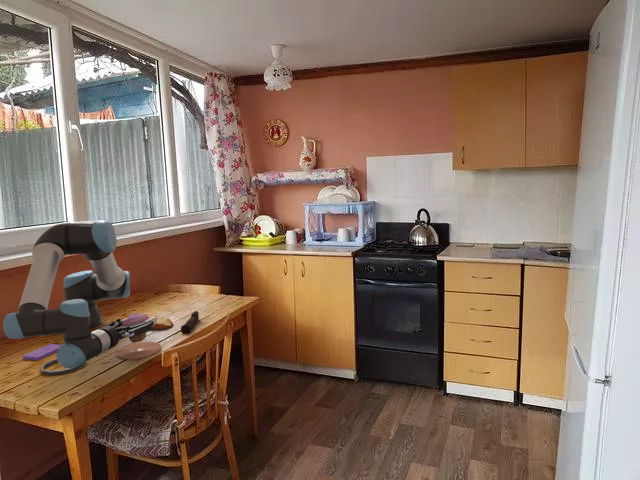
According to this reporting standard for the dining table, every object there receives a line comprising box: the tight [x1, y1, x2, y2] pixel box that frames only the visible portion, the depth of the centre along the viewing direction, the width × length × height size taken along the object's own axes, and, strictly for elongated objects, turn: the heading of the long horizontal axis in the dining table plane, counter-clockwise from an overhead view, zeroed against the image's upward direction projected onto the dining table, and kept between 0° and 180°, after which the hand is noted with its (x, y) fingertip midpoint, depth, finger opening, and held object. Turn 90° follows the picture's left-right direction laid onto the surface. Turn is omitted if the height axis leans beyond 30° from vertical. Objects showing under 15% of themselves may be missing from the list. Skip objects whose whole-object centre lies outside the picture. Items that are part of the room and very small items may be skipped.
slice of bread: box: [149, 317, 174, 331], centre depth 198 cm, size 18×18×4 cm
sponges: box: [22, 343, 63, 361], centre depth 171 cm, size 7×13×2 cm, turn 165°
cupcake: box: [124, 312, 150, 343], centre depth 167 cm, size 9×9×10 cm
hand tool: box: [180, 310, 200, 335], centre depth 196 cm, size 19×4×5 cm, turn 178°
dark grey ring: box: [40, 358, 87, 376], centre depth 157 cm, size 13×13×1 cm
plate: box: [116, 341, 162, 361], centre depth 169 cm, size 15×15×1 cm
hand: (144, 319), depth 172 cm, fingers closed on cupcake, 9 cm apart
